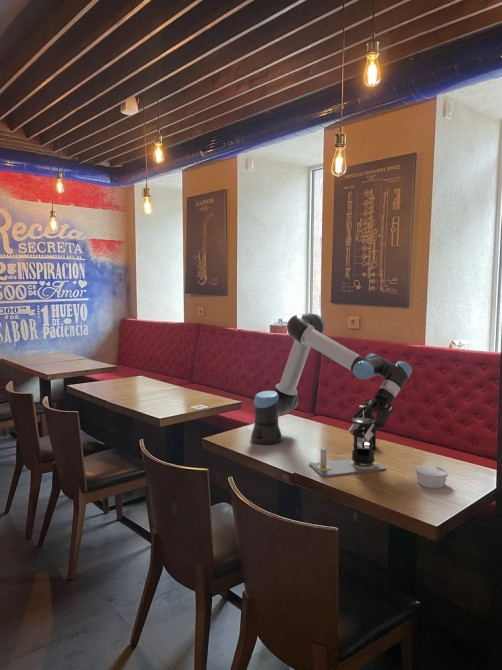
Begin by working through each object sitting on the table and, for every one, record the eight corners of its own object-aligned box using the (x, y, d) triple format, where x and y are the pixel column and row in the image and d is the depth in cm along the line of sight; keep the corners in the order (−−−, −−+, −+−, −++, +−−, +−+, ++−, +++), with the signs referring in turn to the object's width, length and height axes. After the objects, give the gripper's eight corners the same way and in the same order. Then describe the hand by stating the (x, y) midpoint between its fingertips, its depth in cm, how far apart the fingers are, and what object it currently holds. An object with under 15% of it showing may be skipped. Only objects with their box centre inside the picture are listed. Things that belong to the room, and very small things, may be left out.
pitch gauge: (308, 465, 206) (309, 444, 205) (369, 458, 213) (369, 439, 212) (322, 477, 192) (322, 455, 191) (386, 470, 199) (386, 449, 199)
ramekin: (453, 487, 182) (454, 474, 181) (427, 491, 179) (428, 477, 178) (434, 476, 192) (434, 463, 192) (409, 480, 189) (409, 466, 189)
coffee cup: (358, 437, 243) (358, 408, 242) (377, 441, 238) (377, 410, 236) (349, 443, 235) (350, 412, 234) (369, 446, 230) (370, 415, 228)
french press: (361, 465, 197) (362, 409, 195) (345, 459, 205) (345, 405, 203) (382, 460, 203) (383, 405, 201) (365, 454, 211) (366, 401, 209)
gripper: (411, 403, 200) (382, 448, 194) (373, 394, 219) (345, 434, 212) (402, 392, 197) (372, 437, 191) (364, 383, 216) (336, 424, 209)
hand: (358, 435), depth 202 cm, fingers closed on french press, 9 cm apart
